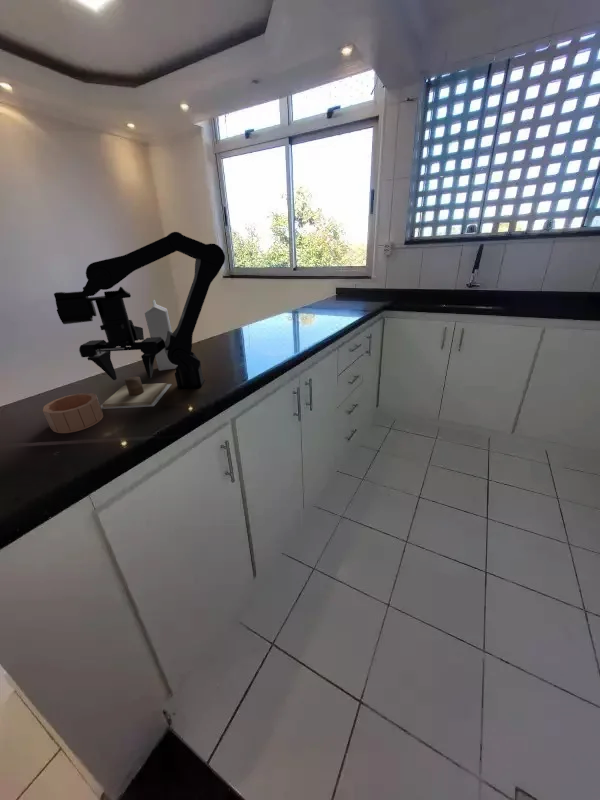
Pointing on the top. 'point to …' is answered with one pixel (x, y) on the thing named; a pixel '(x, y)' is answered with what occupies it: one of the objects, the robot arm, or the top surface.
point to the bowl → (73, 412)
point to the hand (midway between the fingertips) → (132, 378)
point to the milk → (159, 332)
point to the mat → (141, 405)
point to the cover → (135, 393)
